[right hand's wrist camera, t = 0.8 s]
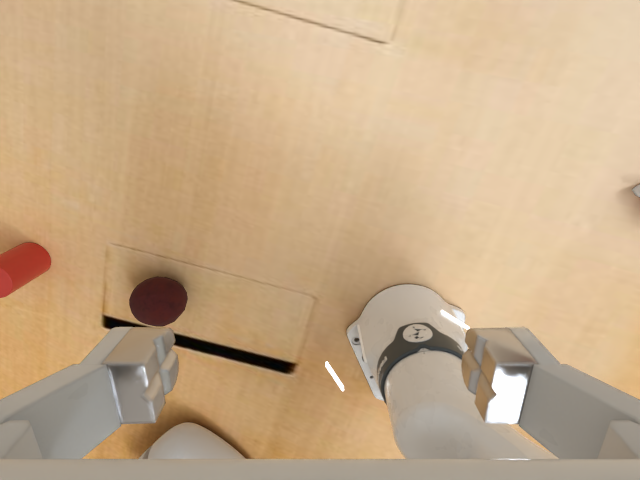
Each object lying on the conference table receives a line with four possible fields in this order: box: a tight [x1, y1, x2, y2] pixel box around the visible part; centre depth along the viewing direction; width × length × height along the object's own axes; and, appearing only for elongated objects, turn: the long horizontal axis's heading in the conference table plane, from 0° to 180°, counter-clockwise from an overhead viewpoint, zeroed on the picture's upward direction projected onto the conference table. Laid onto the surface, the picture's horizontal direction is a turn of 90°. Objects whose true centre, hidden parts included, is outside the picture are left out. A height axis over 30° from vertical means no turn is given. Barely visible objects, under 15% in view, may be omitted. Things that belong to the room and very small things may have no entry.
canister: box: [0, 243, 51, 298], centre depth 53 cm, size 5×5×8 cm
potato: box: [129, 277, 188, 326], centre depth 55 cm, size 7×8×7 cm
